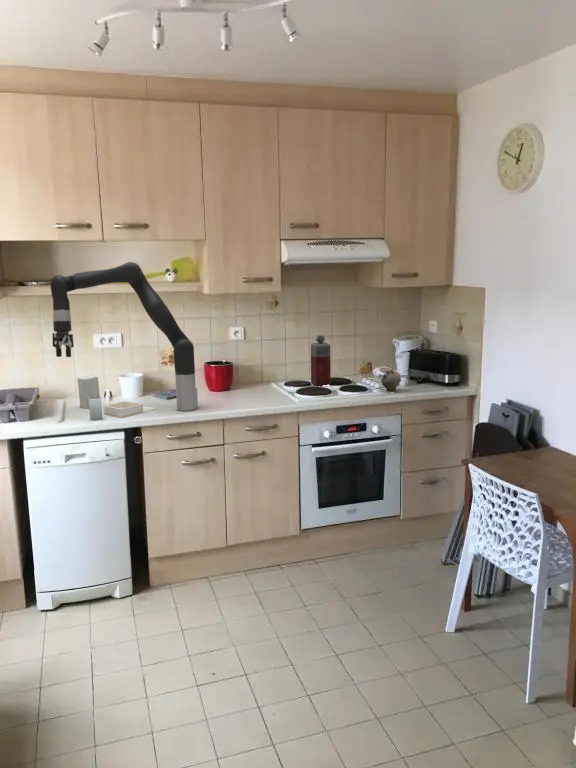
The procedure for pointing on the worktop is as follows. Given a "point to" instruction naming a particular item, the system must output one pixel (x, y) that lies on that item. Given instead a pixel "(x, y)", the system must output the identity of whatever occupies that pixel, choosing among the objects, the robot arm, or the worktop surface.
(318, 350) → the red and grey bottle
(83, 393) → the skincare box
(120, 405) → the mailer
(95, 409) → the jar
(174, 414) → the worktop surface
